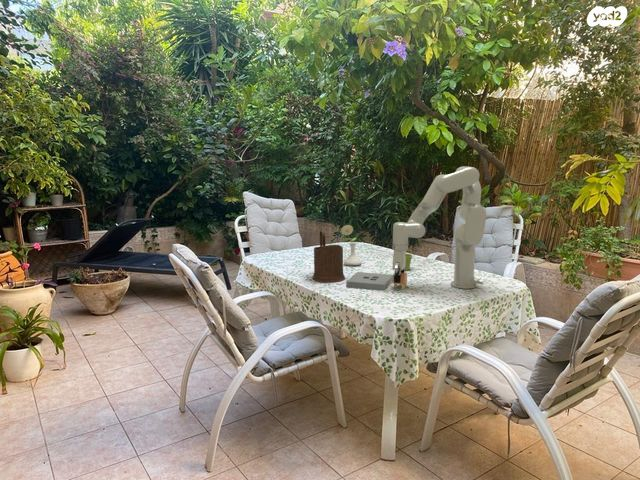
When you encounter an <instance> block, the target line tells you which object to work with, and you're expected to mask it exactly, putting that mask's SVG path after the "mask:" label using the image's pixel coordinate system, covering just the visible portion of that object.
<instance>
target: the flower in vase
mask: <svg viewBox="0 0 640 480" xmlns="http://www.w3.org/2000/svg"><path fill="white" fill-rule="evenodd" d="M340 232H341V235H344V236H348V237H344V238H342V241H344V242H347V241H350V242H348V244H349V246H350V255H349V256H347V257H346V258H345V259H343V265H346V266H354V267H355V266H360V265H361V264H362V263H363V260H361V258H360V257H358V256H357V255H356V252H355V251H356V250H355V249H356V245H357V243H358V242H355V241H356V240H357V236H356V237H353V238H352V239H350V235H351V234H352V233H353V232H354V227H353V226H352V225H350V224H347V225H344V226H343V227H342V228H341V230H340Z"/></svg>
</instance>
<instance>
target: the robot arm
mask: <svg viewBox="0 0 640 480" xmlns="http://www.w3.org/2000/svg"><path fill="white" fill-rule="evenodd" d="M480 174H481V173H480V172H479V170H478V168H475V167H473V166H467V165H466V166H463V165H462V166H460V167H458V168H456V170H455V172H452V173H449V174H439V175H437V176H436V177H435V178H434V179H433V181H432V183H431V184H430V187H429V188H428V190H427V192H426V194H425V195H424V197H423V199H422V200H421V202H420V203H418V206H417V207H416V208H415V209H414V210H413V212H412V213H411V215H410V217H409V219H408V220H407V222H404V221H403V222H402V221H399V222H398V221H396V222H395V223H393V227H392V250H393V254H392V255H393V256H392V268H391V269H392V271H394V273H393V274H394V283H400V282H401V275H400V272H401V273H406V272H405V271H404V267H405V262H406V254H407V251H408V250H409V238H413V239H414V238H415V239H420V238H423V237H424V236H425V234H426V227H425V226H424V223H425V221H426V220H427V218H428V217H429V215H431V214H432V213H433V212H435V211H437V210H439V207H440V206H441V204H442V202H443V200H444V199H445V197H446V195H447V194H449V193H453V192H457V191H459V190H462V199H461V205H460V211H459V216H460V218H461V219H462V220H463V221H464V222H465V223H461V224H459V225H458V226H457V227H456V228H455V230H454V271H453V273H454V274H453V280H452V281H450V286H451V287H454V288H456V289H465V290H467V289H469V290H471V289H475V288H477V284H478V285H483V284H484V280H483V279H480V278H479V279H477V278H475V277H476V276H475V258H476V257H475V256H476V246H478V245H479V244H480V243H482V240H483V239H484V232H485V228H486V221H487V211H486V209H485V207H484V206H483V205H481V201H482V200H481V199H482V198H481V197H482V186H481V182H480V181H479V180H480Z"/></svg>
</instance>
